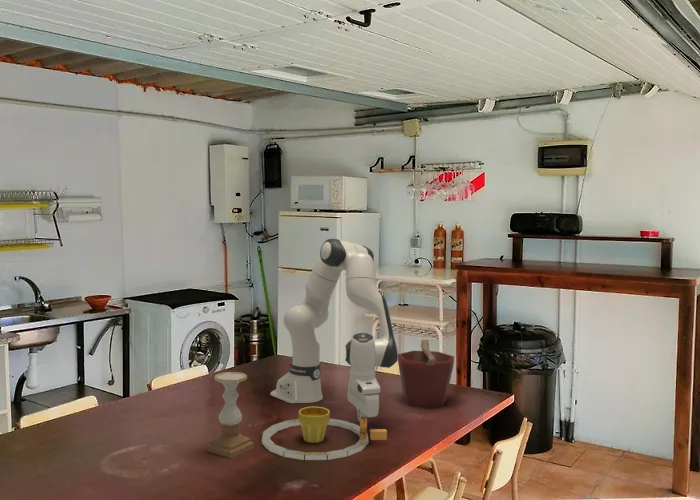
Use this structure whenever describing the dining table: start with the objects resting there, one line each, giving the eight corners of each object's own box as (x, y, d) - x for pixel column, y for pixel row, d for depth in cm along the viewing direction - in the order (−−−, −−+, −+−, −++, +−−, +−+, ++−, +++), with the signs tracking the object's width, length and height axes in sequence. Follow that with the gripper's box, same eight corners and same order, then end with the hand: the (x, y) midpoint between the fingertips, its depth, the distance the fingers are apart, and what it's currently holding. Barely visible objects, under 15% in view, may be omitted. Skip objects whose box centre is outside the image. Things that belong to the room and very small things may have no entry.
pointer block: (370, 440, 210) (370, 431, 210) (369, 437, 212) (369, 429, 212) (386, 440, 210) (387, 431, 210) (385, 437, 213) (386, 429, 212)
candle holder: (231, 459, 192) (231, 382, 191) (205, 451, 198) (205, 376, 196) (254, 448, 201) (255, 374, 200) (229, 441, 207) (229, 369, 206)
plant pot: (324, 447, 203) (324, 417, 203) (294, 443, 206) (294, 414, 205) (332, 436, 213) (333, 407, 213) (303, 433, 216) (304, 405, 215)
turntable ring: (249, 429, 217) (249, 411, 217) (340, 417, 233) (340, 399, 232) (283, 467, 186) (284, 446, 185) (386, 449, 201) (387, 429, 201)
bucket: (445, 414, 239) (446, 349, 238) (389, 407, 246) (390, 344, 245) (455, 396, 262) (457, 337, 261) (404, 390, 269) (405, 333, 268)
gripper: (343, 374, 222) (342, 413, 223) (364, 391, 203) (364, 432, 204) (359, 373, 224) (359, 411, 225) (382, 389, 205) (381, 430, 206)
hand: (361, 421), depth 214 cm, fingers closed
